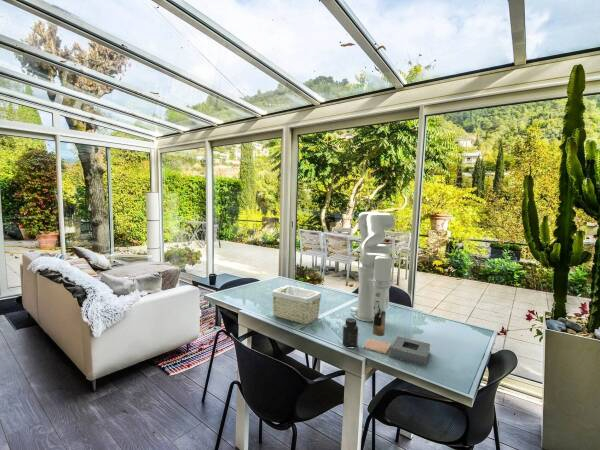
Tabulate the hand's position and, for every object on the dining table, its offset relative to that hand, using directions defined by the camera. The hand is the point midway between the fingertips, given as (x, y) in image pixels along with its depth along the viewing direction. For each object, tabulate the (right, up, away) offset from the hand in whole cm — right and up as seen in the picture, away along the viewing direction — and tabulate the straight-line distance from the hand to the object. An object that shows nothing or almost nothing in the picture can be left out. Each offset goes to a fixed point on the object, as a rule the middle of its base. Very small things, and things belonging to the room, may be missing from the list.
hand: (379, 323), depth 139 cm
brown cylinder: (0, -5, 0) cm, 5 cm away
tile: (0, -11, +1) cm, 11 cm away
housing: (+12, -12, -5) cm, 18 cm away
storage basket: (-38, -7, +34) cm, 51 cm away
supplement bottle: (-13, -11, +1) cm, 17 cm away
